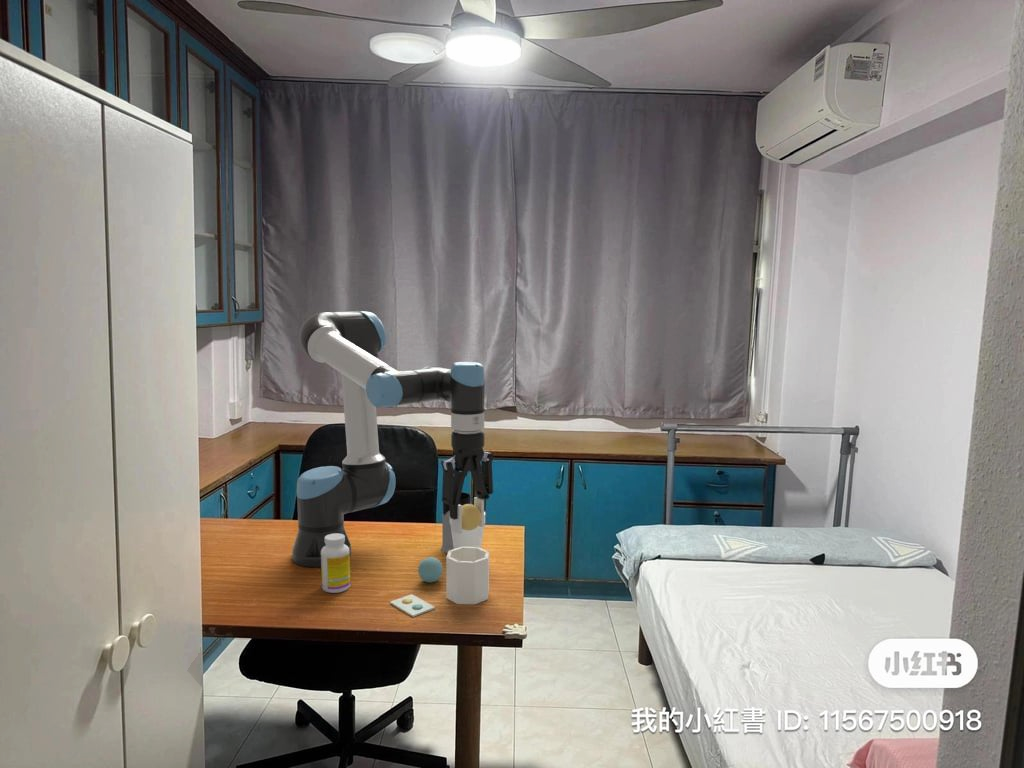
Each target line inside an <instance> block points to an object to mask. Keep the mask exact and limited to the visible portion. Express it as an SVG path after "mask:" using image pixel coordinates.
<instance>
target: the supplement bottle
mask: <svg viewBox="0 0 1024 768" xmlns="http://www.w3.org/2000/svg"><path fill="white" fill-rule="evenodd" d="M344 542H345V535H343V534H339V533H334V534H329V535H326V536H325V544H326V546H324V547H323V548H322V550H321V567H320V569H321V571H320V572H321V588H322V590H323V591H324V592H326V593H330V594H337V593H342V592H346V591H347V590H348V589H349V588H350V587H351V564H350V563H351V561H350V560H351V559H350V558H351V556H350V553H349V547H348V546H347V545H345V544H344Z"/></svg>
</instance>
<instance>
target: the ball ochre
mask: <svg viewBox="0 0 1024 768" xmlns="http://www.w3.org/2000/svg"><path fill="white" fill-rule="evenodd" d="M480 522H481V512H480V510H479V509H478V508H477V507H476V506H475V505H474V504H472V503H470V504H465V505H463V506H462V529H464V530H473V529H475V528H476V527H478V526H479V524H480Z"/></svg>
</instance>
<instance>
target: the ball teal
mask: <svg viewBox="0 0 1024 768" xmlns="http://www.w3.org/2000/svg"><path fill="white" fill-rule="evenodd" d="M417 567H418V569H417V573H418V576H419V578H420V579H421V580H422V581H423V582H426V583H435V582H437V581H439V579H440V578H441V577H442V575H443V570H444V568H443V565H442V563H441V561H440V560H439V559H438V558H437V557H432V556H431V557H430V556H429V557H425V558H424V559H422V560H421V561H420V563H419V565H418V566H417Z"/></svg>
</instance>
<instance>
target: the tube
mask: <svg viewBox="0 0 1024 768" xmlns="http://www.w3.org/2000/svg"><path fill="white" fill-rule="evenodd" d="M446 554H447V553H446ZM445 559H446V567H445V568H446V570H445V571H446V572H445V573H446V575H445V576H446V579H445V580H446V582H445V583H446V588H445V590H446V599H447V600H449V601H451V602H453V603H455V604H456V605H477V604H479V603H482V602H484V601H487V600H489V595H490V551H488V550H486V549H484V548H482V547H481V548H479V547H459V548H456V549H453V550H449V551H448V554H447V555H446V557H445Z"/></svg>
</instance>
